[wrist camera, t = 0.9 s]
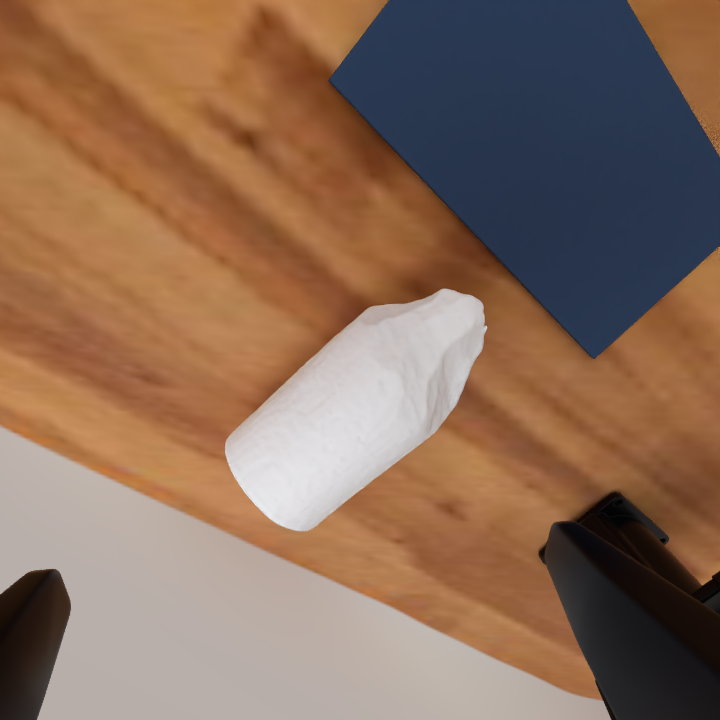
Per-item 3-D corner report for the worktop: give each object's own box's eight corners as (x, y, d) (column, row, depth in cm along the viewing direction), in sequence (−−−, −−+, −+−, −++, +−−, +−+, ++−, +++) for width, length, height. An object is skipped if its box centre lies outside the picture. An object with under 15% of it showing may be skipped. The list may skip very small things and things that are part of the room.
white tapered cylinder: (492, 326, 22) (552, 378, 17) (317, 475, 24) (324, 560, 19) (416, 235, 20) (459, 264, 15) (230, 410, 22) (212, 487, 17)
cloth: (748, 213, 21) (754, 214, 21) (590, 356, 23) (594, 359, 23) (518, -169, 15) (522, -175, 14) (328, 80, 17) (328, 79, 16)
